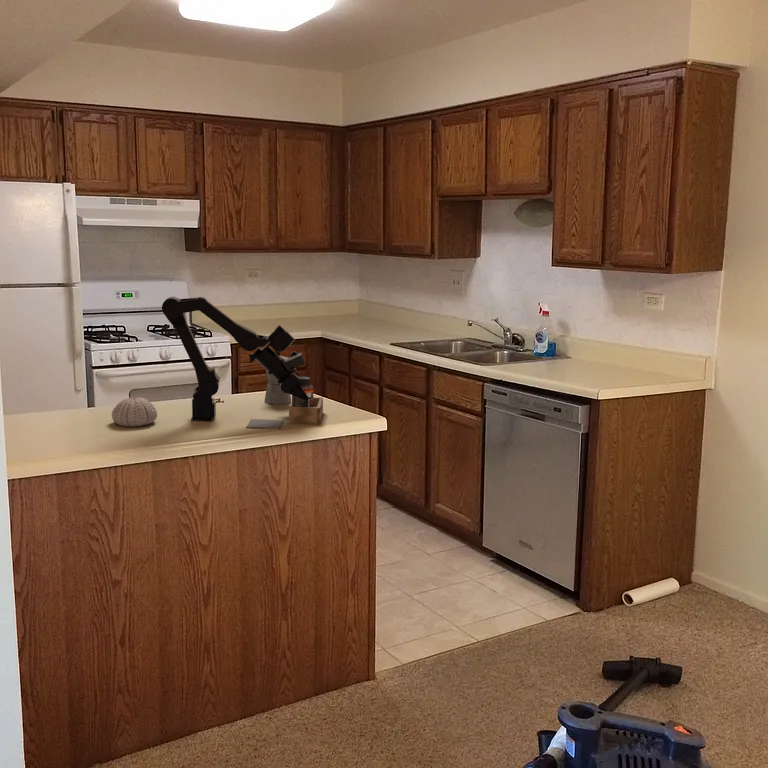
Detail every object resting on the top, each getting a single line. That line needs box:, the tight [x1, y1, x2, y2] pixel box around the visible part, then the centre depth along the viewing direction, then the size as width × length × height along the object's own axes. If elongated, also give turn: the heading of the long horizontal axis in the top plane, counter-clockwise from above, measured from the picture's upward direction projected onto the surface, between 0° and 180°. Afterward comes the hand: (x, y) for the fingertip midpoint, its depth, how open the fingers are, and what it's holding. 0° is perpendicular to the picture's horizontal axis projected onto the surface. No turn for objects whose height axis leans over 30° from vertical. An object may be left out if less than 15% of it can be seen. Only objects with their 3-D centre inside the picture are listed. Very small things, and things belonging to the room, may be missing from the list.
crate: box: [288, 396, 324, 425], centre depth 265 cm, size 10×16×5 cm, turn 1°
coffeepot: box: [264, 351, 292, 405], centre depth 286 cm, size 15×9×18 cm, turn 15°
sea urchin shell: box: [111, 396, 158, 428], centre depth 251 cm, size 13×14×8 cm
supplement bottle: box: [291, 376, 314, 407], centre depth 264 cm, size 7×7×13 cm
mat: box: [245, 418, 284, 429], centre depth 254 cm, size 10×10×1 cm
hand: (307, 397), depth 264 cm, fingers closed on supplement bottle, 7 cm apart
